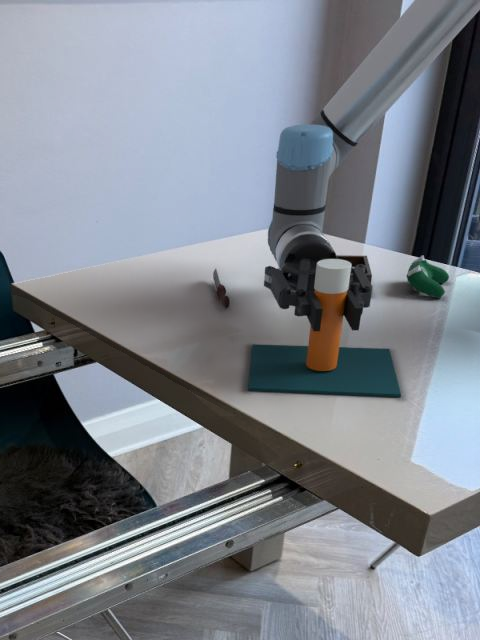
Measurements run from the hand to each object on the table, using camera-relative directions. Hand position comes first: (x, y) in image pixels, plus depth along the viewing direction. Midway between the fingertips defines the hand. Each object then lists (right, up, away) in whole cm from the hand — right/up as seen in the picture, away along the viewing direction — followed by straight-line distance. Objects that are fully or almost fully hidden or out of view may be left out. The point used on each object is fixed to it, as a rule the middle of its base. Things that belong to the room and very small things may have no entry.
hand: (337, 319), depth 92 cm
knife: (-8, +12, +34) cm, 37 cm away
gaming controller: (+24, +13, +33) cm, 43 cm away
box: (+11, +15, +36) cm, 40 cm away
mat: (+1, -4, +9) cm, 10 cm away
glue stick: (+1, -4, +9) cm, 10 cm away
